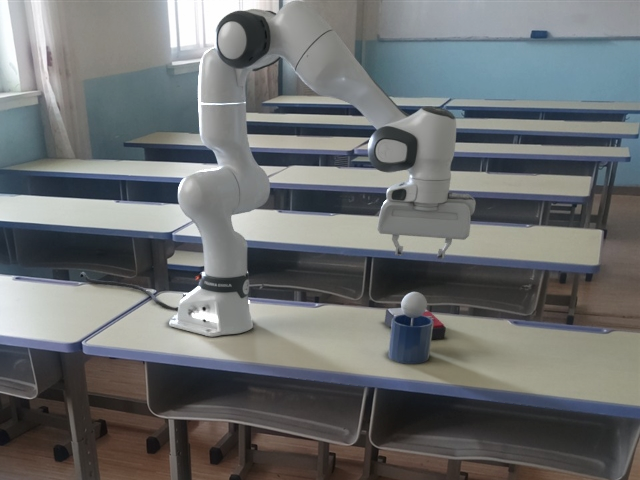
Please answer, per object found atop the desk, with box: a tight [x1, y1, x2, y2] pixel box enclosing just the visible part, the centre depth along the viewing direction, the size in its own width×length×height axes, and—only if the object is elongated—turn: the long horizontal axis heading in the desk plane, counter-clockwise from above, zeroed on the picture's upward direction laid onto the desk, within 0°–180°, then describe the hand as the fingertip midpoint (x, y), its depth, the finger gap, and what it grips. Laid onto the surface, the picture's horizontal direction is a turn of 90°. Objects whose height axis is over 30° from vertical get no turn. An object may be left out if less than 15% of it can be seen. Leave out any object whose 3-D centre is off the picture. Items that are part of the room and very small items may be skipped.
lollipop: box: [400, 291, 428, 326], centre depth 190 cm, size 6×6×15 cm
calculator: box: [384, 307, 447, 340], centre depth 209 cm, size 11×4×15 cm
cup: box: [388, 314, 434, 365], centre depth 192 cm, size 10×10×9 cm
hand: (419, 256), depth 181 cm, fingers open, 8 cm apart
